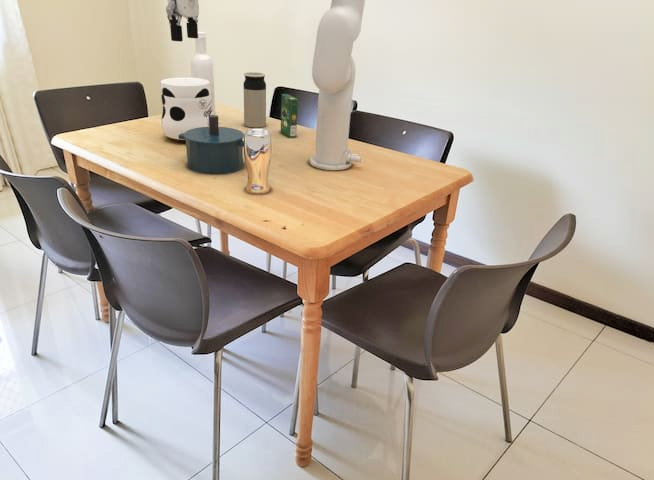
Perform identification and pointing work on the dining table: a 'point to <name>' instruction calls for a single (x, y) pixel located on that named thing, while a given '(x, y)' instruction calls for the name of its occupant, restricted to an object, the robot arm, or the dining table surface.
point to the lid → (213, 133)
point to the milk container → (184, 105)
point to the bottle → (203, 65)
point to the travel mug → (254, 100)
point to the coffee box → (289, 115)
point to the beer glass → (257, 159)
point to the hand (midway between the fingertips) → (185, 39)
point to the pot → (214, 157)
